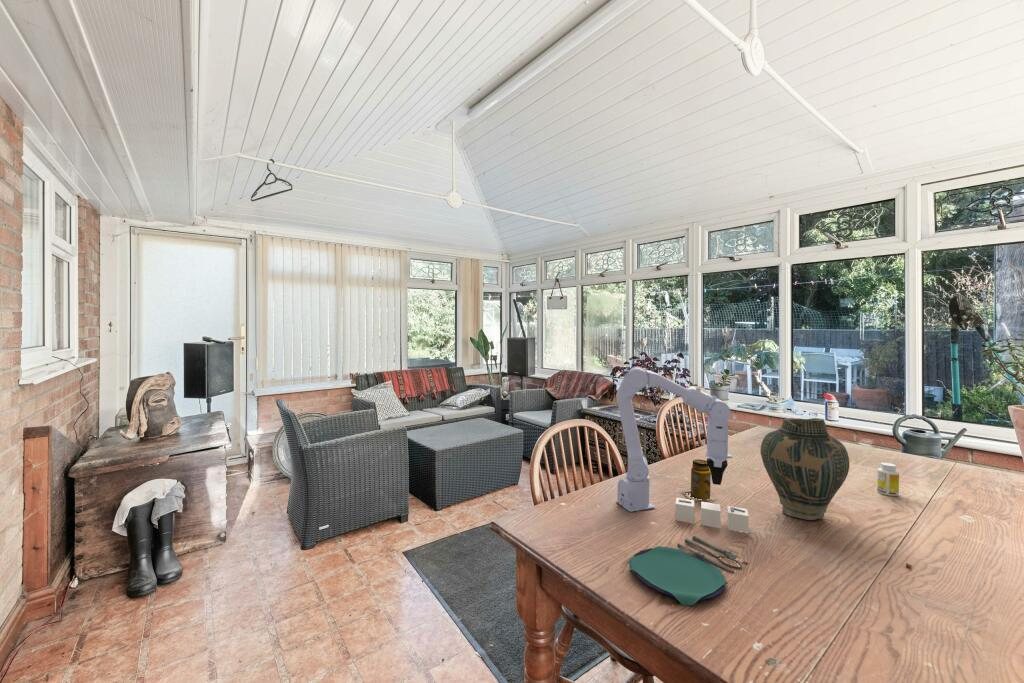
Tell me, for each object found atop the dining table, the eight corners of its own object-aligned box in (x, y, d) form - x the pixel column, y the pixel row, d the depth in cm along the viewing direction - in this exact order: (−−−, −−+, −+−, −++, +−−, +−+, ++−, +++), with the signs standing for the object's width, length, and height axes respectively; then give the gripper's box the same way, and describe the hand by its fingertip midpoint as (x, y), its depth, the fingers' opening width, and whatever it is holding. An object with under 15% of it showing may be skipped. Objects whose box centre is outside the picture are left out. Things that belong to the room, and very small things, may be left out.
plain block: (720, 528, 117) (720, 511, 117) (701, 525, 119) (701, 508, 119) (719, 521, 122) (719, 504, 122) (701, 518, 124) (701, 501, 124)
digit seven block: (748, 533, 114) (748, 515, 114) (728, 530, 116) (728, 511, 116) (746, 526, 119) (747, 508, 119) (727, 522, 121) (727, 505, 121)
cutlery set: (612, 570, 97) (612, 560, 97) (688, 537, 113) (688, 529, 113) (689, 620, 80) (690, 609, 80) (765, 573, 97) (766, 564, 97)
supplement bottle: (900, 494, 143) (900, 464, 143) (897, 498, 140) (897, 468, 139) (878, 489, 147) (879, 460, 147) (875, 493, 144) (876, 463, 144)
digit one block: (693, 523, 120) (693, 505, 120) (675, 520, 122) (675, 502, 122) (693, 516, 125) (694, 499, 125) (676, 513, 127) (676, 496, 127)
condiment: (716, 500, 137) (716, 464, 137) (692, 501, 136) (692, 465, 136) (702, 491, 144) (703, 457, 144) (680, 492, 143) (680, 458, 143)
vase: (866, 535, 113) (869, 427, 113) (776, 527, 118) (778, 422, 117) (823, 503, 135) (825, 411, 134) (748, 497, 140) (750, 408, 139)
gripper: (733, 447, 117) (733, 494, 118) (730, 435, 131) (730, 478, 131) (706, 444, 120) (705, 490, 121) (706, 433, 134) (705, 474, 134)
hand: (716, 483), depth 126 cm, fingers closed
